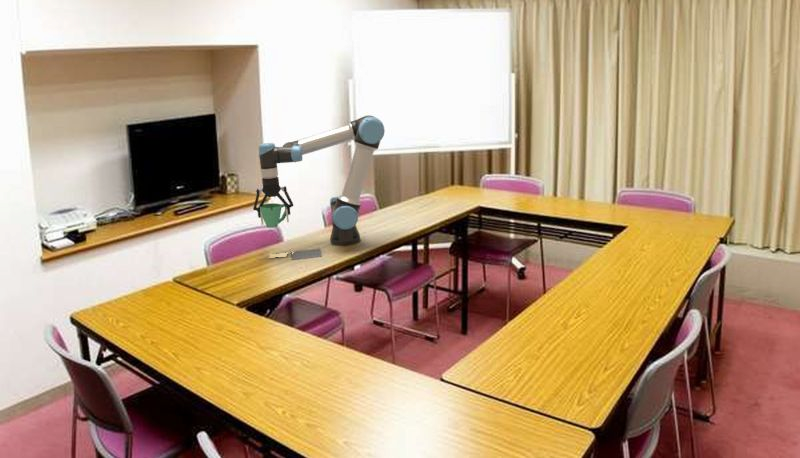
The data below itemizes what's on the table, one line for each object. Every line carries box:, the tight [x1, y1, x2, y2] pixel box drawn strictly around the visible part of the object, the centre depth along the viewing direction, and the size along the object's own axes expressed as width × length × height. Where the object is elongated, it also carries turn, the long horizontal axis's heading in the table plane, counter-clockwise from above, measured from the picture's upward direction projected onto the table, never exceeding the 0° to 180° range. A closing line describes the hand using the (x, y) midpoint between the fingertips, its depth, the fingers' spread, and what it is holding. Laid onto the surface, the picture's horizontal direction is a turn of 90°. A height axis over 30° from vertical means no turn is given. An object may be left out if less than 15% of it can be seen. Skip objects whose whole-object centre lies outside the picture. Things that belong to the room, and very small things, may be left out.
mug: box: [260, 203, 287, 229], centre depth 320 cm, size 15×10×10 cm
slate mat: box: [290, 248, 323, 261], centre depth 324 cm, size 14×14×1 cm
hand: (275, 222), depth 321 cm, fingers closed on mug, 11 cm apart
